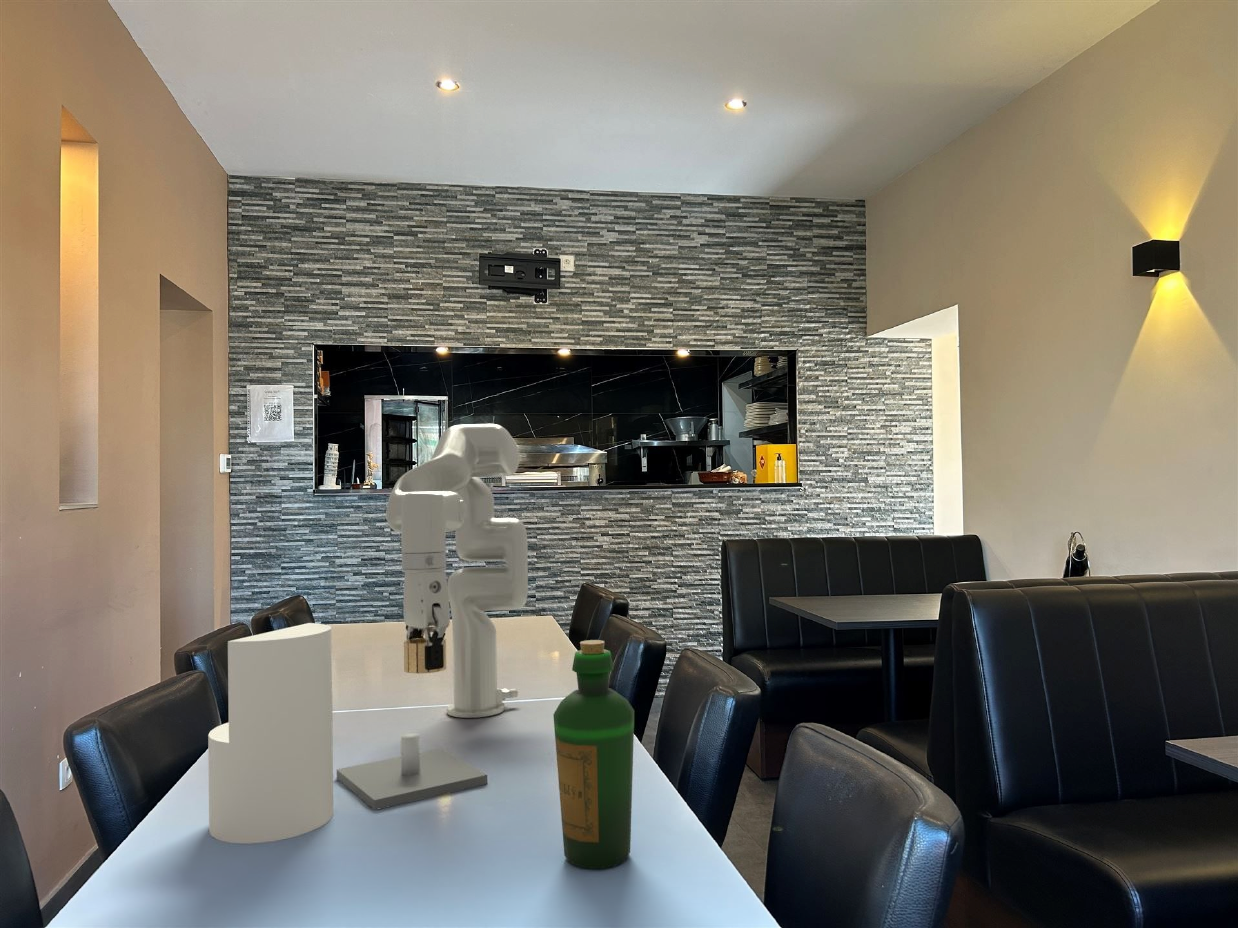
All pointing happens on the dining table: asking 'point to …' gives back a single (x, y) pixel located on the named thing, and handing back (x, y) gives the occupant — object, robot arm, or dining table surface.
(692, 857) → the dining table surface
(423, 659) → the wooden stave ring
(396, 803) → the stand
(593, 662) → the bottle
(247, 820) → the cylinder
